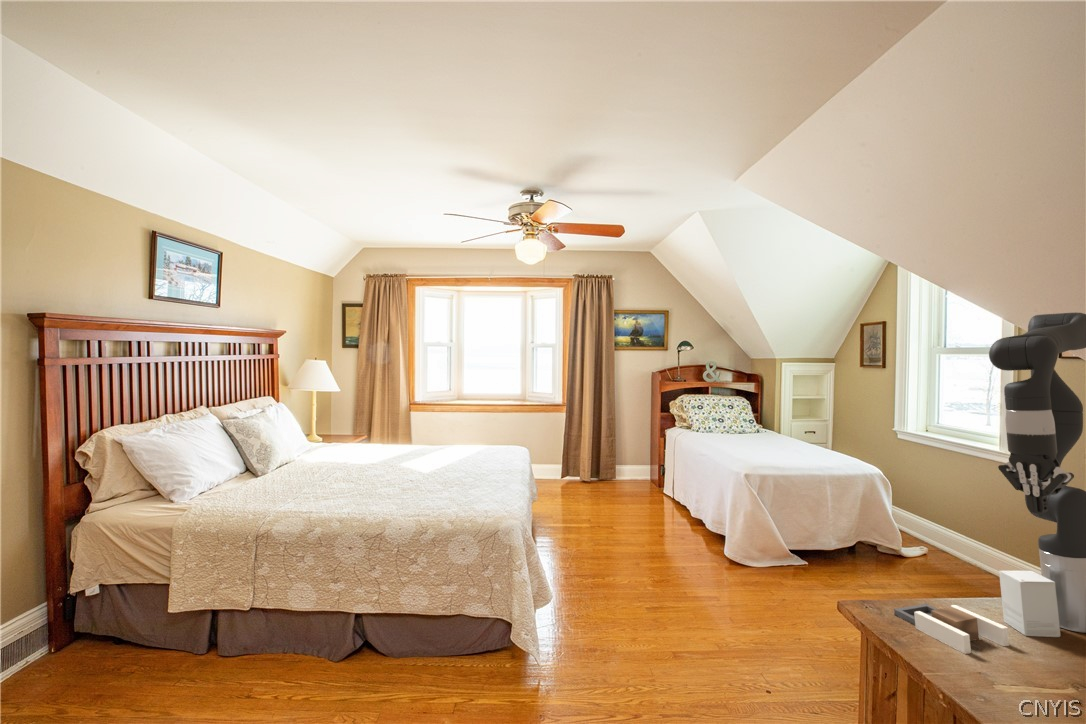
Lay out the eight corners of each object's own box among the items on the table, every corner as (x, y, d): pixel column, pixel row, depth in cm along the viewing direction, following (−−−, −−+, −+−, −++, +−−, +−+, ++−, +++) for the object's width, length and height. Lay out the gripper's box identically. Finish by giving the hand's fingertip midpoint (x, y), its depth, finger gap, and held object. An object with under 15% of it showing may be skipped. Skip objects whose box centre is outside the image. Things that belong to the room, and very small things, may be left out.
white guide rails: (956, 621, 125) (955, 604, 126) (1009, 645, 114) (1007, 627, 114) (915, 628, 123) (914, 611, 123) (965, 654, 111) (963, 635, 112)
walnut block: (953, 627, 123) (951, 606, 123) (978, 639, 117) (977, 617, 117) (933, 631, 122) (931, 610, 122) (958, 643, 116) (956, 621, 116)
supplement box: (1062, 637, 115) (1056, 582, 116) (1024, 636, 117) (1019, 581, 117) (1037, 622, 123) (1032, 570, 123) (1002, 621, 124) (997, 569, 125)
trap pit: (926, 609, 132) (926, 603, 132) (949, 619, 126) (948, 613, 126) (894, 614, 130) (894, 609, 130) (915, 625, 124) (915, 619, 124)
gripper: (1082, 432, 101) (1091, 519, 100) (1010, 427, 114) (1017, 504, 113) (1053, 435, 99) (1061, 523, 99) (983, 429, 112) (990, 507, 112)
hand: (1037, 513), depth 106 cm, fingers closed
